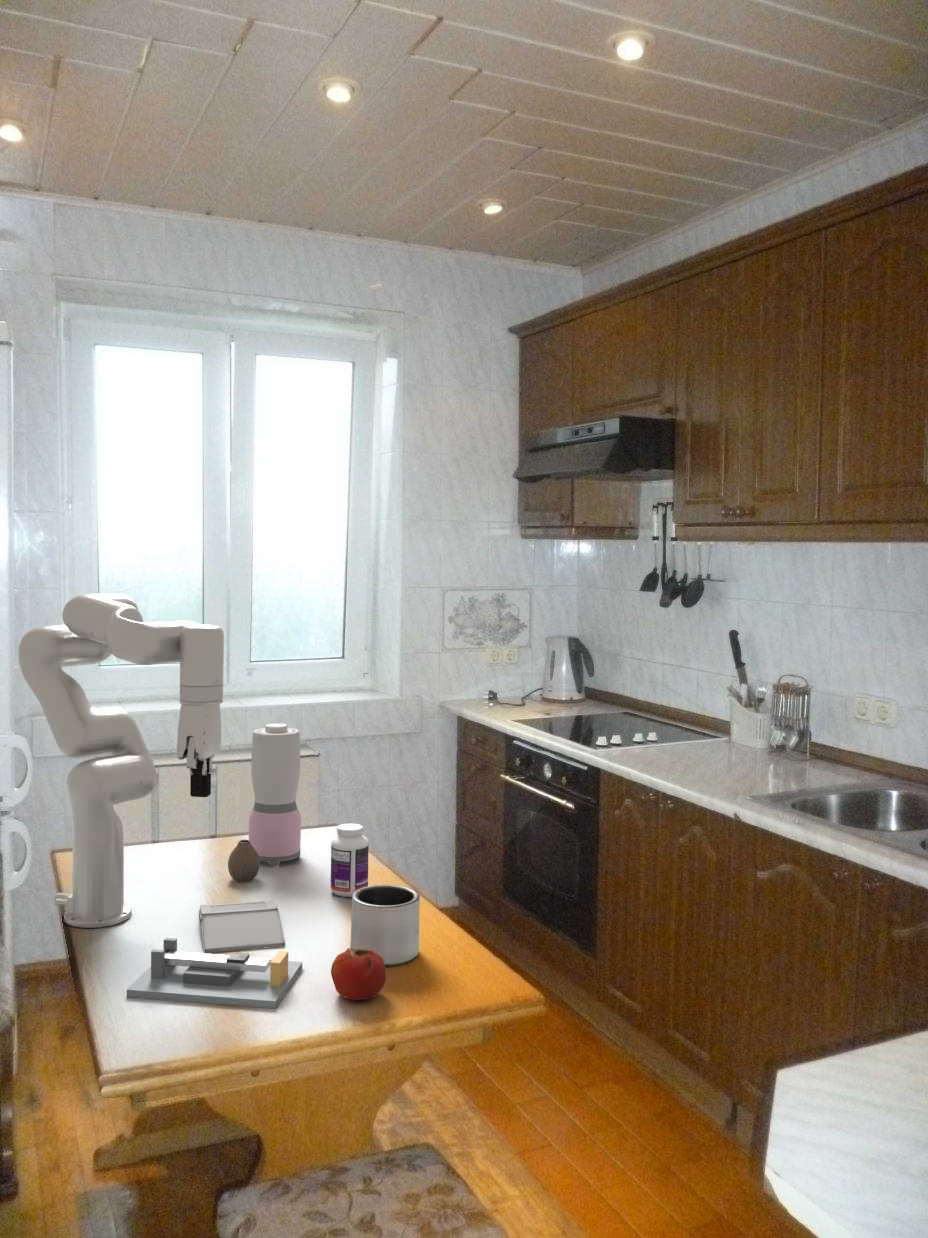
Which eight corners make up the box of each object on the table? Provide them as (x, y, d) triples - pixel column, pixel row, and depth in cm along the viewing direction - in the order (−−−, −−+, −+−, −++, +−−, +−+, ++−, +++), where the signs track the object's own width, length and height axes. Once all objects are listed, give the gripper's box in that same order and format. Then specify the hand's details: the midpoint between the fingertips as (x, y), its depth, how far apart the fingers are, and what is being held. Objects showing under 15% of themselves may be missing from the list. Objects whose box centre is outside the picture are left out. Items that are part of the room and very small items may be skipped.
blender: (280, 870, 237) (282, 732, 234) (236, 862, 242) (238, 726, 239) (317, 852, 251) (320, 722, 249) (275, 845, 256) (277, 717, 254)
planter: (402, 973, 182) (403, 911, 181) (338, 961, 186) (339, 900, 185) (429, 948, 193) (430, 889, 193) (368, 937, 198) (369, 880, 197)
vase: (266, 879, 231) (266, 840, 230) (244, 887, 225) (244, 847, 224) (243, 873, 234) (244, 835, 234) (221, 880, 228) (221, 841, 228)
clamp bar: (155, 965, 175) (155, 954, 175) (164, 957, 178) (164, 946, 178) (264, 974, 173) (264, 962, 173) (271, 965, 176) (271, 954, 176)
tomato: (334, 983, 177) (335, 937, 176) (388, 985, 176) (389, 939, 176) (326, 1007, 167) (326, 959, 167) (382, 1009, 167) (383, 961, 167)
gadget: (286, 949, 192) (286, 930, 192) (202, 957, 188) (203, 937, 188) (273, 907, 214) (273, 890, 214) (198, 913, 210) (198, 895, 210)
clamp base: (126, 996, 169) (126, 962, 169) (165, 958, 185) (166, 927, 185) (275, 1008, 166) (276, 973, 166) (302, 968, 182) (302, 936, 182)
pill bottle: (363, 885, 228) (364, 820, 227) (371, 897, 220) (373, 830, 219) (326, 888, 226) (328, 823, 225) (334, 900, 218) (335, 832, 217)
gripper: (196, 688, 192) (195, 785, 193) (164, 699, 177) (163, 805, 178) (235, 689, 191) (234, 787, 192) (206, 701, 176) (205, 807, 178)
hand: (200, 795), depth 185 cm, fingers closed
